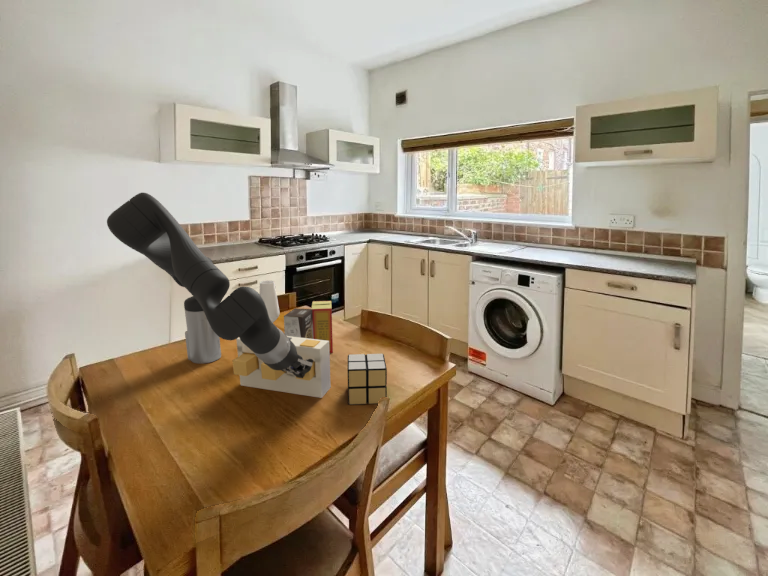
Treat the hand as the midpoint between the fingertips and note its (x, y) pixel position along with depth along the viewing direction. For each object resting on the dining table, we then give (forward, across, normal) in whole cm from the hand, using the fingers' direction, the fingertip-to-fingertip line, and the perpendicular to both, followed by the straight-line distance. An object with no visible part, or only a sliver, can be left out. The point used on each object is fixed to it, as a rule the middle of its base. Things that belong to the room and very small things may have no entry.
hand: (301, 374), depth 106 cm
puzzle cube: (+11, +15, 0) cm, 19 cm away
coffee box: (+23, -13, +11) cm, 29 cm away
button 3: (+4, 0, +1) cm, 4 cm away
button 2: (+2, -9, -1) cm, 9 cm away
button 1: (+2, -17, -1) cm, 17 cm away
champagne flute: (+26, -26, +14) cm, 39 cm away
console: (+10, -9, -1) cm, 13 cm away
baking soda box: (+30, -10, +19) cm, 37 cm away
